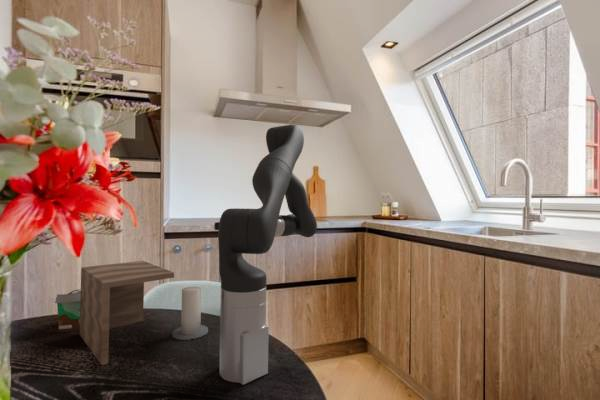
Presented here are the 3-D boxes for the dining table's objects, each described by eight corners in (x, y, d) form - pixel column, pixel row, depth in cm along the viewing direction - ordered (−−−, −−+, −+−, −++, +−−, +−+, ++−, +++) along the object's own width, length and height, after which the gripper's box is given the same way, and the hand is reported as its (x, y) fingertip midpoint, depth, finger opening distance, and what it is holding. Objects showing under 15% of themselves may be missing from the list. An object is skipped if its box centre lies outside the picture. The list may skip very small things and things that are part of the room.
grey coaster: (214, 333, 83) (214, 331, 83) (181, 343, 77) (181, 341, 77) (198, 323, 90) (198, 321, 90) (166, 332, 83) (166, 330, 83)
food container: (77, 334, 81) (78, 295, 81) (54, 334, 81) (55, 295, 81) (108, 317, 94) (108, 283, 94) (87, 317, 94) (88, 283, 94)
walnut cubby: (172, 343, 77) (174, 272, 77) (101, 365, 66) (103, 282, 66) (141, 319, 92) (142, 260, 92) (79, 334, 81) (81, 267, 81)
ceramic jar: (203, 331, 83) (204, 289, 84) (186, 336, 80) (187, 292, 80) (195, 325, 87) (195, 285, 87) (177, 330, 83) (178, 288, 83)
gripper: (253, 213, 106) (210, 213, 94) (282, 214, 96) (238, 214, 84) (253, 236, 106) (209, 238, 94) (282, 239, 96) (237, 242, 84)
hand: (223, 226), depth 89 cm, fingers open, 8 cm apart
